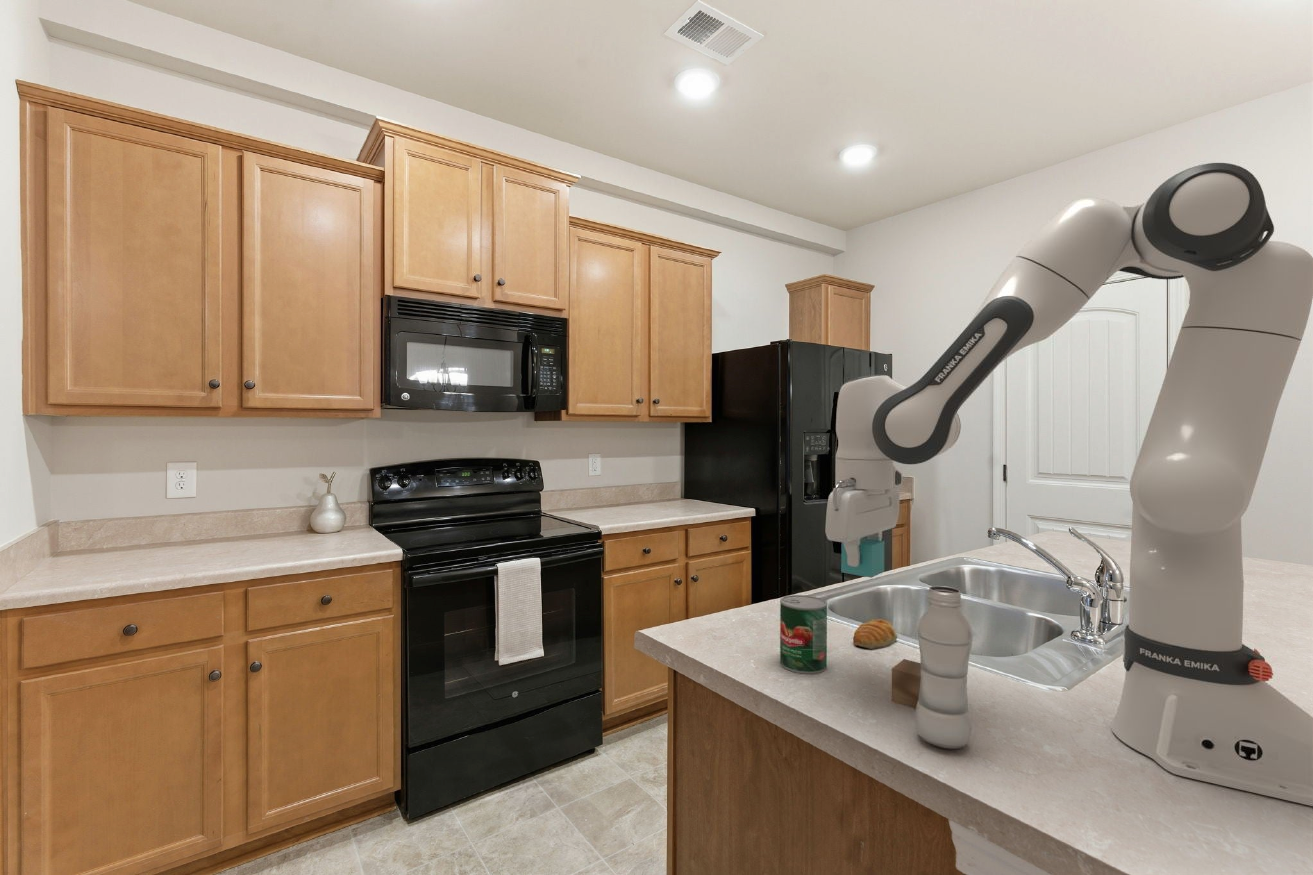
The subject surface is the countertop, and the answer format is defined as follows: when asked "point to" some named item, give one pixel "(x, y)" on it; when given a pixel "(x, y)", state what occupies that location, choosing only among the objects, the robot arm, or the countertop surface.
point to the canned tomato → (803, 634)
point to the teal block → (866, 558)
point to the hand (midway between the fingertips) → (863, 562)
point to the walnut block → (906, 683)
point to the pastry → (875, 634)
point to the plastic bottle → (944, 670)
